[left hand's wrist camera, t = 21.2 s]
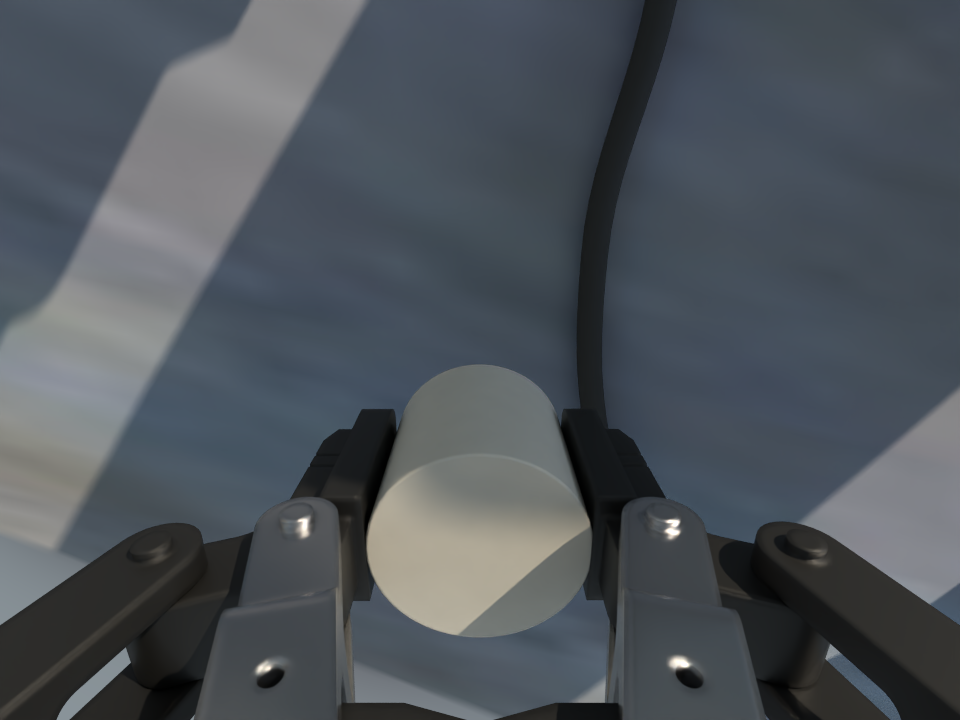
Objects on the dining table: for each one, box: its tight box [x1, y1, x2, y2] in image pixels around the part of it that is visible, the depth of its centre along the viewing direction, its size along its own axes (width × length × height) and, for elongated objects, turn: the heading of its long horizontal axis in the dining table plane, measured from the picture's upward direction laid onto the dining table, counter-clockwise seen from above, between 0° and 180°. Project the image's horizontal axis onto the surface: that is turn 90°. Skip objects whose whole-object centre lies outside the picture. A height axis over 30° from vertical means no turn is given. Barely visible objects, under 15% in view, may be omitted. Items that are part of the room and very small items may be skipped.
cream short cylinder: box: [366, 364, 593, 638], centre depth 11 cm, size 4×4×4 cm
